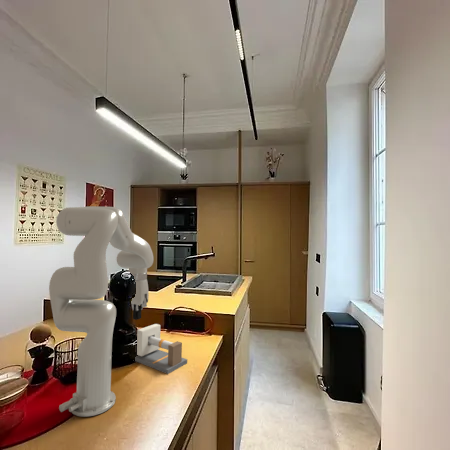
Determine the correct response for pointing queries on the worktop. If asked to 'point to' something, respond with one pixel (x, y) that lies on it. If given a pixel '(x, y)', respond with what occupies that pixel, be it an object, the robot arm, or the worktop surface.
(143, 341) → the collar
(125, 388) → the worktop surface
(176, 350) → the rod rig
